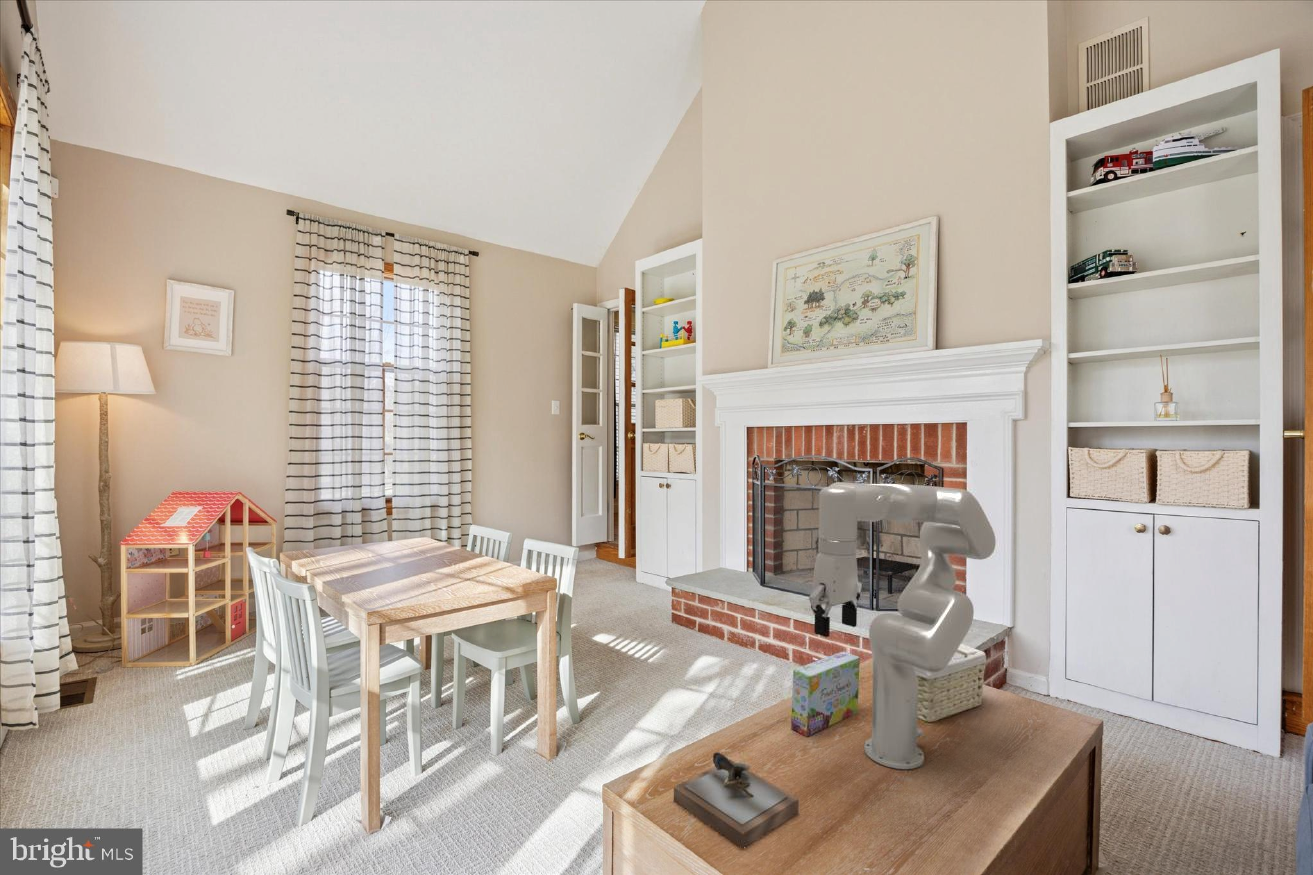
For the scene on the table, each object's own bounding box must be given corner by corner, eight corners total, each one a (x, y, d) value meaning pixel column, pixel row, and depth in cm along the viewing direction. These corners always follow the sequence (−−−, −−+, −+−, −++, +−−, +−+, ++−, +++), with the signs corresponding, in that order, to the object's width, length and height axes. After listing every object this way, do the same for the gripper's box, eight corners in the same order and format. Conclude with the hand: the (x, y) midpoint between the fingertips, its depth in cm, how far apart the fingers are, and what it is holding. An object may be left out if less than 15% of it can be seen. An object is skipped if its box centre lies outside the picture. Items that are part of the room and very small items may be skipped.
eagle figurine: (738, 810, 118) (730, 779, 127) (765, 786, 118) (755, 756, 126) (711, 784, 117) (705, 754, 126) (739, 759, 117) (731, 731, 126)
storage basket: (927, 727, 153) (929, 668, 152) (876, 700, 167) (877, 646, 167) (988, 707, 164) (989, 652, 164) (935, 684, 178) (936, 633, 178)
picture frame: (729, 771, 132) (729, 757, 132) (798, 812, 118) (798, 797, 118) (673, 800, 121) (673, 785, 121) (742, 849, 108) (742, 832, 108)
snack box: (809, 738, 146) (810, 675, 146) (790, 729, 150) (791, 668, 150) (859, 713, 159) (860, 655, 159) (840, 705, 164) (842, 649, 164)
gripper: (844, 539, 135) (843, 617, 135) (796, 549, 123) (795, 634, 124) (876, 545, 129) (874, 626, 129) (828, 555, 118) (827, 644, 118)
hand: (835, 630), depth 127 cm, fingers open, 9 cm apart
